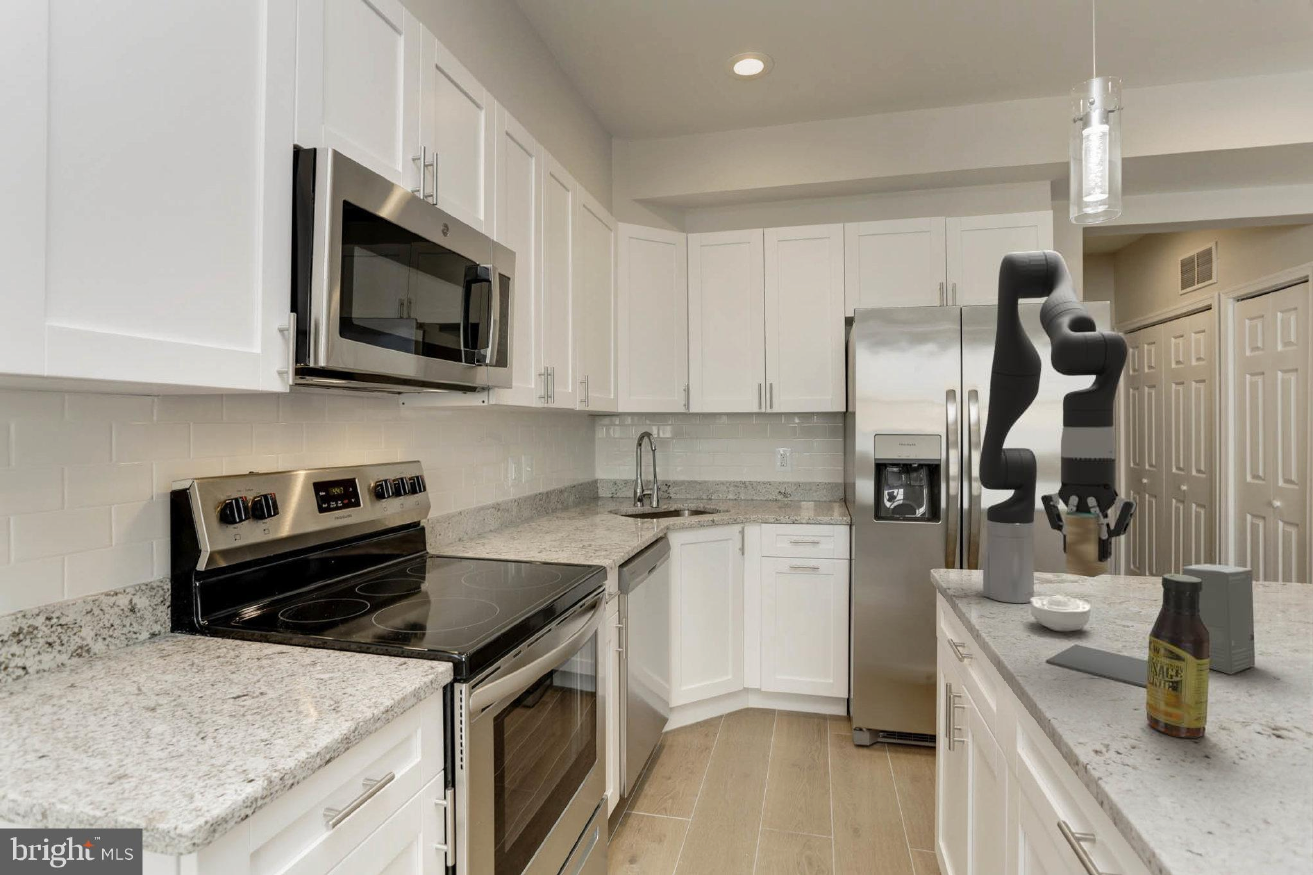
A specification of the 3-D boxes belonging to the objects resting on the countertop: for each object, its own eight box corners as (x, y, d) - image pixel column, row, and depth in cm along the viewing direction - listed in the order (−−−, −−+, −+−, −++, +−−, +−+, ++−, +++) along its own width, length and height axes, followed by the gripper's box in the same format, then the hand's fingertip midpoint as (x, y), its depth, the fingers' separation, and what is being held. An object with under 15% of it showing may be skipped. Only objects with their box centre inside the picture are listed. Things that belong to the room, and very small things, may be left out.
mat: (1045, 662, 112) (1045, 660, 112) (1075, 646, 120) (1075, 644, 120) (1163, 692, 100) (1163, 689, 100) (1188, 672, 107) (1188, 669, 107)
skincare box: (1231, 676, 106) (1232, 573, 105) (1179, 661, 112) (1179, 565, 112) (1258, 666, 110) (1259, 567, 109) (1205, 653, 116) (1206, 559, 116)
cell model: (1097, 626, 131) (1098, 591, 131) (1083, 642, 122) (1083, 604, 122) (1038, 616, 138) (1038, 583, 138) (1021, 630, 129) (1021, 595, 129)
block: (1066, 573, 112) (1066, 512, 112) (1080, 567, 116) (1080, 508, 116) (1093, 577, 109) (1093, 514, 109) (1107, 571, 113) (1107, 511, 113)
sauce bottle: (1134, 720, 91) (1134, 571, 90) (1178, 717, 91) (1179, 569, 91) (1175, 743, 84) (1176, 582, 84) (1222, 740, 85) (1224, 581, 84)
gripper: (1031, 454, 115) (1031, 555, 116) (1129, 457, 104) (1129, 569, 105) (1050, 452, 120) (1050, 550, 121) (1146, 455, 109) (1146, 562, 109)
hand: (1087, 558), depth 113 cm, fingers closed on block, 4 cm apart
